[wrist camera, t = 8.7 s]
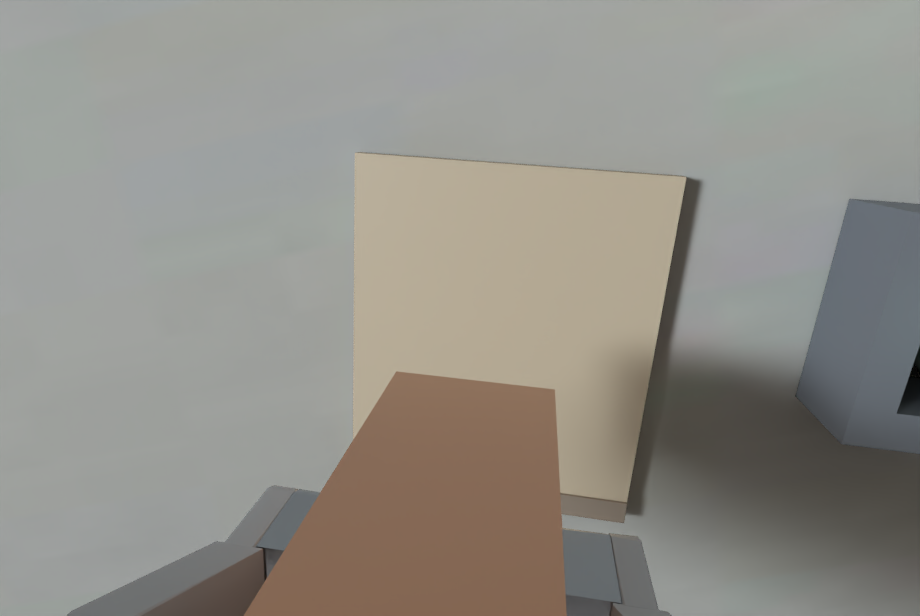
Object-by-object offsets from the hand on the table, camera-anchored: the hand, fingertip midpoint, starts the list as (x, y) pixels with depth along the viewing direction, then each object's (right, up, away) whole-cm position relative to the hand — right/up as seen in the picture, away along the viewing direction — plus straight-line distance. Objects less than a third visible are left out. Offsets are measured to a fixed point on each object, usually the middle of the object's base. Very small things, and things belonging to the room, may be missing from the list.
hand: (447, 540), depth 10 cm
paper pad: (+2, +3, +9) cm, 10 cm away
